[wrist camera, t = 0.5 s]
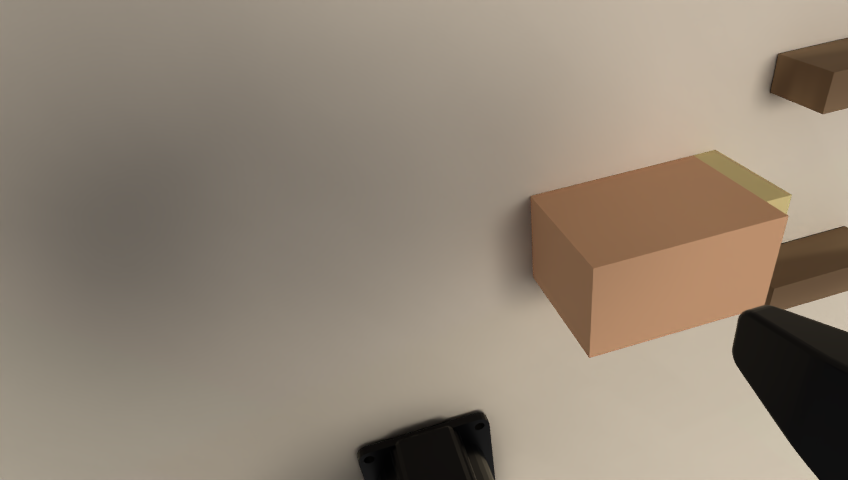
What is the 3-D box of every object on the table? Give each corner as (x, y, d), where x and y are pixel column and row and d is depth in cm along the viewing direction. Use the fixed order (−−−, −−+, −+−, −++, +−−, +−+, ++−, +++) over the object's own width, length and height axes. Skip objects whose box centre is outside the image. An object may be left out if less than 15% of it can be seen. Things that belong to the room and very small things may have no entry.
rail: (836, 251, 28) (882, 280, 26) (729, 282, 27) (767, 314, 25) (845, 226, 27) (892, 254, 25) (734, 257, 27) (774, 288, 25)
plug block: (701, 231, 25) (787, 299, 21) (532, 276, 24) (589, 357, 20) (715, 149, 23) (814, 208, 19) (530, 196, 22) (593, 268, 18)
